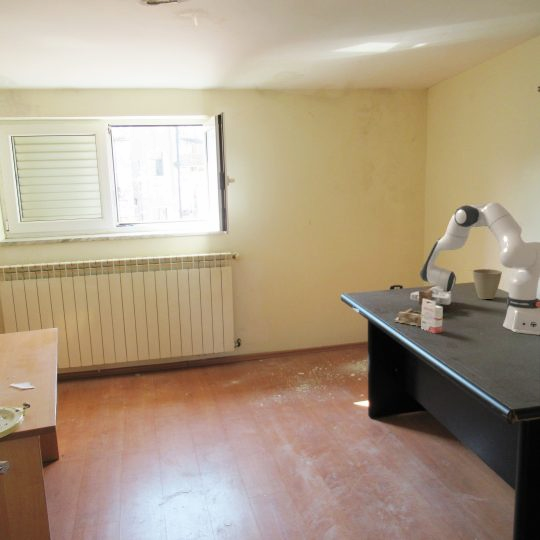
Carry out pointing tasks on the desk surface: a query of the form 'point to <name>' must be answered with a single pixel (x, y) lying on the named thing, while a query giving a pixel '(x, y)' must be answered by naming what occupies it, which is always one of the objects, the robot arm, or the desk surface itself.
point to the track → (409, 317)
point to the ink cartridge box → (431, 316)
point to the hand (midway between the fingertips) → (425, 301)
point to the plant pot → (486, 282)
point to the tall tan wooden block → (426, 295)
